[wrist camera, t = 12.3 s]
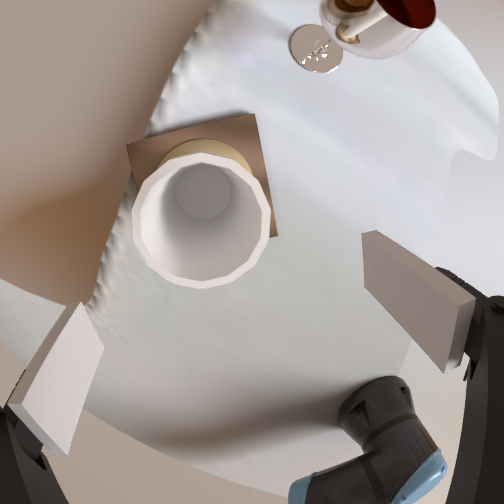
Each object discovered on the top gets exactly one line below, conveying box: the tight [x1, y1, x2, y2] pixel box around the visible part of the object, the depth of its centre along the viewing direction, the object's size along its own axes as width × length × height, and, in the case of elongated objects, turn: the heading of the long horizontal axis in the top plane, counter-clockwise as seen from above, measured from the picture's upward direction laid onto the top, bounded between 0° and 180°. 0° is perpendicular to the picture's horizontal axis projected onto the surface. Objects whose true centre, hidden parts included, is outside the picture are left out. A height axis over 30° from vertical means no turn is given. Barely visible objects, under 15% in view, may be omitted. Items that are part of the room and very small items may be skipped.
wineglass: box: [291, 0, 437, 73], centre depth 21 cm, size 8×8×18 cm
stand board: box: [126, 113, 278, 238], centre depth 33 cm, size 14×14×2 cm
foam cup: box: [131, 151, 271, 289], centre depth 26 cm, size 10×9×13 cm
